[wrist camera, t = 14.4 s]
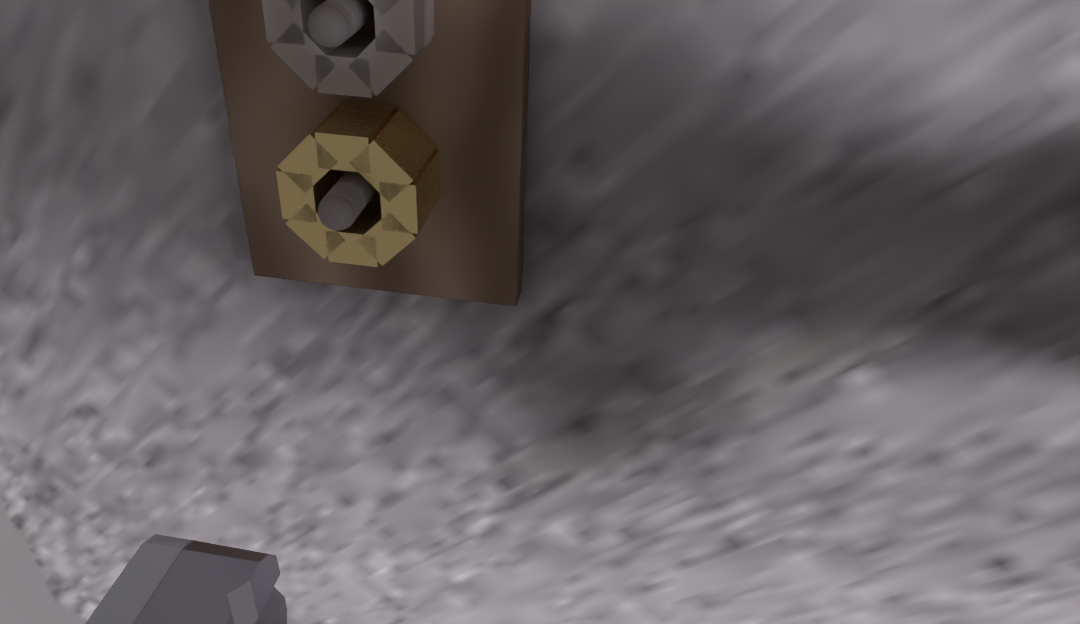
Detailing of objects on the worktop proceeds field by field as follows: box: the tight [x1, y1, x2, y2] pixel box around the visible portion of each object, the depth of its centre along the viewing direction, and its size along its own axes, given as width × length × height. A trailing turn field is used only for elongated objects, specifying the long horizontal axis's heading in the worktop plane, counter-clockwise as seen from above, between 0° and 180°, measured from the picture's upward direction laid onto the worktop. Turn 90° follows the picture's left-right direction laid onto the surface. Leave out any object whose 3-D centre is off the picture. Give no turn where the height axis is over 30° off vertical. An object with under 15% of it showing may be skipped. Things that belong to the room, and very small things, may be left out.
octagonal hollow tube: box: [276, 100, 441, 267], centre depth 39 cm, size 6×6×4 cm
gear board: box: [209, 0, 531, 306], centre depth 37 cm, size 14×20×7 cm
